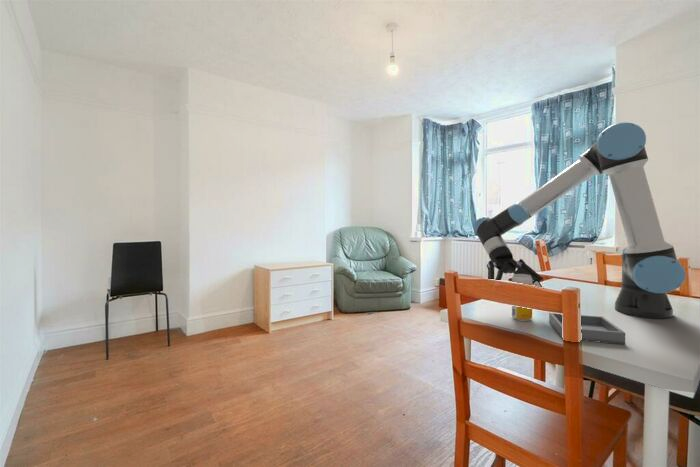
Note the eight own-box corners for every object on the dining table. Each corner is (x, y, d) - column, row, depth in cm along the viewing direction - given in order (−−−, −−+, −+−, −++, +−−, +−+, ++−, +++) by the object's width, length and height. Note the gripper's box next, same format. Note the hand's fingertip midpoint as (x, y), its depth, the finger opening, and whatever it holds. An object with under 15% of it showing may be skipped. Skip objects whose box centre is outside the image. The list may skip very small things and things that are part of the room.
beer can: (536, 321, 106) (536, 276, 106) (520, 322, 105) (520, 277, 105) (523, 315, 112) (523, 273, 112) (508, 316, 111) (508, 274, 111)
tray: (602, 326, 100) (603, 316, 100) (625, 344, 86) (625, 333, 86) (549, 322, 105) (549, 312, 105) (562, 338, 91) (562, 327, 91)
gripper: (522, 256, 125) (552, 304, 111) (464, 259, 121) (488, 309, 107) (532, 243, 120) (565, 292, 106) (471, 246, 115) (498, 297, 101)
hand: (526, 301), depth 106 cm, fingers open, 13 cm apart
